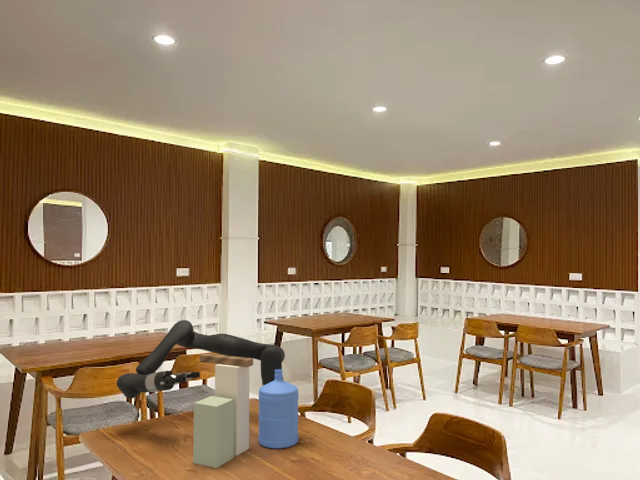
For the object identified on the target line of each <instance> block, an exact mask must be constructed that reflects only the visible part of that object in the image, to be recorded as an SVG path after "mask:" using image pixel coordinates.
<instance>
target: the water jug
mask: <svg viewBox="0 0 640 480" xmlns="http://www.w3.org/2000/svg"><path fill="white" fill-rule="evenodd" d="M282 376H283V377H284V374H283V368H282V369H276V370H275V380H274V381H272V382H270V383H268V384H266V385H264V386H262V385H261V387H260V388H259V390H258V408H259V409H258V437H257V440H258V443H259V444H260V446H263V447H265V448H269V449H286V448H290V447H292V446H294V445H297V443H298V442H299V388H298V387H297V386H296V385H294V384H292V383H290V382H287V381H286V380H284V378H283V379H282Z"/></svg>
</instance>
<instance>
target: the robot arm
mask: <svg viewBox="0 0 640 480" xmlns="http://www.w3.org/2000/svg"><path fill="white" fill-rule="evenodd" d="M176 345H178V346H179V347H183V348H189V349H196V350H202V351H206V352H210V353H213V354H216V355H225V356H234V357H244V358H253V360H258V361H260V376H261V377H260V378H261V387H262V386H264V385H266V384H268V383H270V382H272V381H274V380H275V370H276V369H282V370H283V365H282V364H283V362H284V360H285V358H286V357H285V356H286V355H285V354H286V353H285V351H284V349H283V348H282V347H281V346H279V345H276V344H267V343H263V342H261V343H260V342H256V341H253V340H249V339H246V338H242V337H239V336H236V335H232V334H228V333H216V334H211V335H210V334H209V335H208V334H202V333H199V332H196V331H195V330H194V327H193V324H192V322H190V321H189V320H187V319H181V320H178V321H176V323H174V324H173V325H172V327H171V328H170V329H169V331H168V332H167V334H166V335H165V336H164V337H163V338H162V340H161V341H160V342H159V343H158V345H157V346H156V347H155V349H153V350H152V351H151V353H150V354H148V355H147V356H146V357H145V358H144V359H143V360H142V361H141V362H140V363H139V364H138V365H137V366H136V368H135V372H136V373H133V372H128V373H124V374H122V375H120V376H119V377H118V378H117V380H116V387H117V388H118V390H119V391H120V392H121V393H122V395H124V397H125V398H127V399H129V400H131V399H135V398H137V397H138V396H139V395H140V393H142V394H145V393H151V392H152V393H154V392H155V393H157V392H164V391H170V390H172V389H173V388H174V387H175V386H176V385H178V384H182V383H186V382H188V380H193V379H199V378H200V377H201V373H200V371H193V370H192V371H189V372H188V371H187V372H181V373H173V372H172V371H171V370H163V371H158V370H159V369H160V368H161V366H162V365H163V364H164V362H165V360H166V358H167V357H168V356H169V354H170V352H171V351H172V350H173V348H174V347H175V346H176ZM282 379H283V380H284V375H283V376H282Z"/></svg>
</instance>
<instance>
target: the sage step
mask: <svg viewBox="0 0 640 480" xmlns="http://www.w3.org/2000/svg"><path fill="white" fill-rule="evenodd" d="M192 437H193V442H192V443H193V447H192V448H193V451H192V452H193V453H192V455H193V457H192V463H193V464H196V465H200V466H205V467H209V468H214V469H217V468H219V467H221V466H223V465H224V464H226V463H228V462H229V461H231V460H232V459H234V455H233V449H234V399H229V398H222V397H215V395H210V396H208V397H205V398H203V399H201V400H198V401H196V402H193V436H192Z"/></svg>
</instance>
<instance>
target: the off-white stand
mask: <svg viewBox="0 0 640 480" xmlns="http://www.w3.org/2000/svg"><path fill="white" fill-rule="evenodd" d="M214 396H215V397H222V398H229V399H234V449H233V456H234V457H235V456H236V457H238V456H240V455H241V454H242V453H244V452H246V451H247V450H249V449H250V367H240V366H231V365H223V364H214Z"/></svg>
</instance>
